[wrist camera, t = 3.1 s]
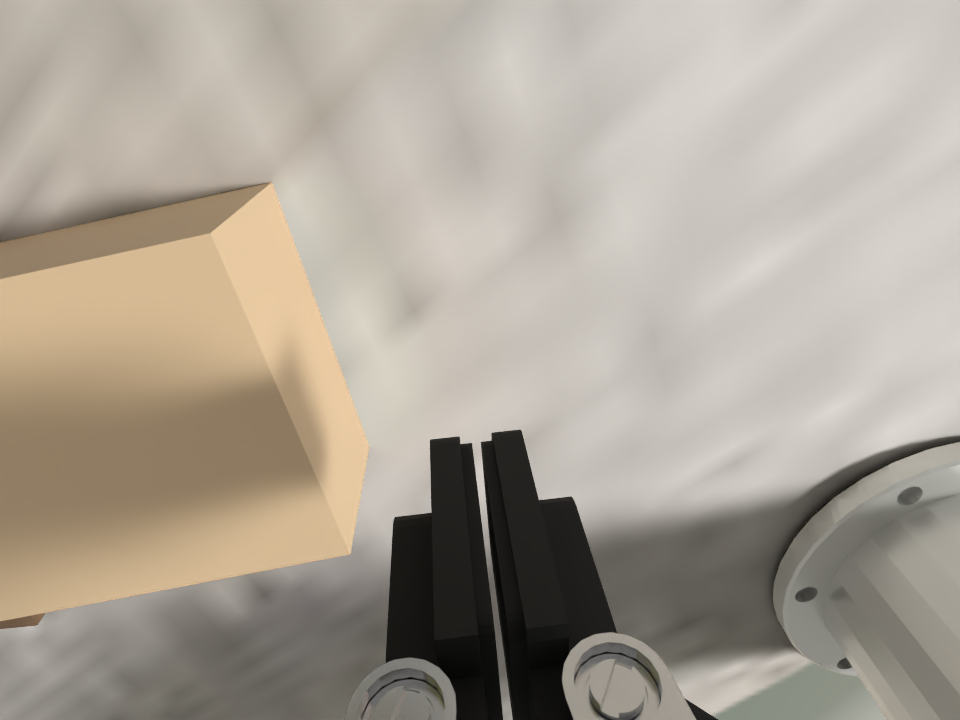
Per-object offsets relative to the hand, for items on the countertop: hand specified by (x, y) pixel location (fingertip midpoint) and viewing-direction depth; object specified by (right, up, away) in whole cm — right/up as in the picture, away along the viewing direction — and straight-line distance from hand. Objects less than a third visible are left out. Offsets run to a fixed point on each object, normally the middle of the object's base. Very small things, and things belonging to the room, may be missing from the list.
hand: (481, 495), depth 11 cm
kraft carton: (-10, +3, +7) cm, 12 cm away
